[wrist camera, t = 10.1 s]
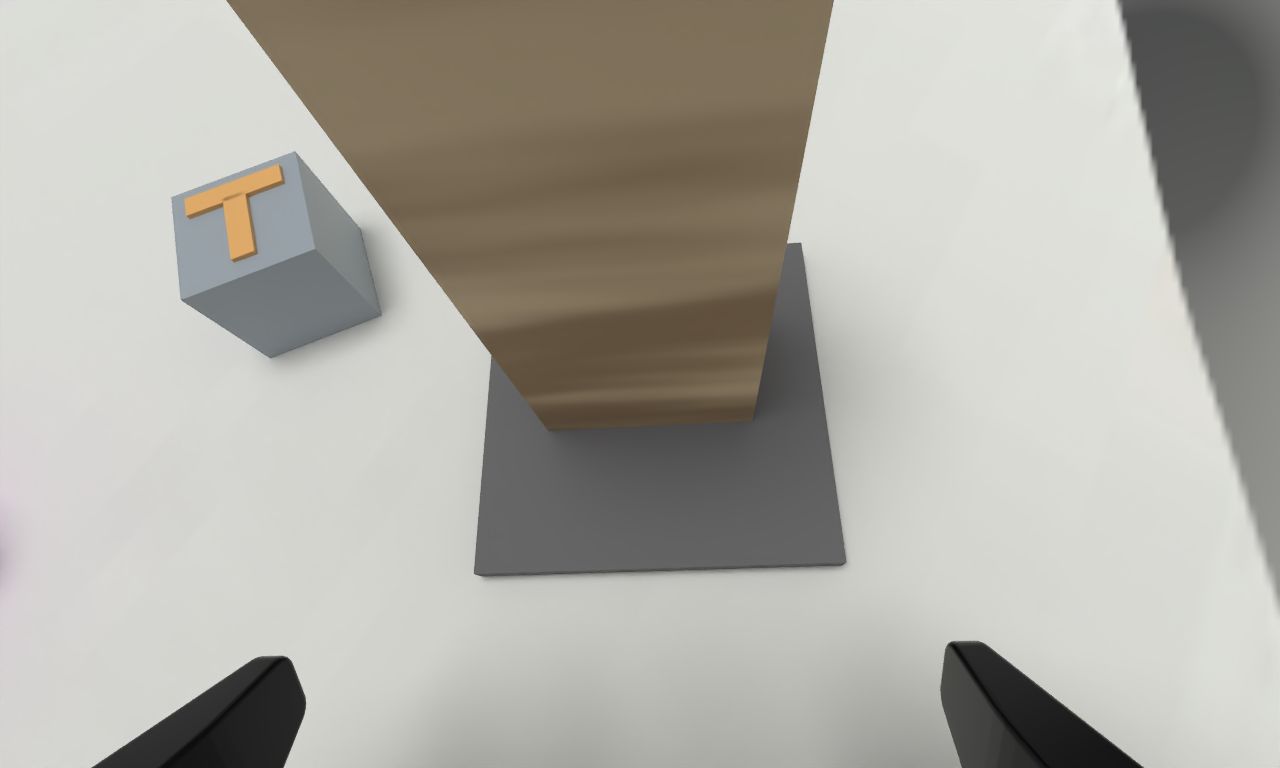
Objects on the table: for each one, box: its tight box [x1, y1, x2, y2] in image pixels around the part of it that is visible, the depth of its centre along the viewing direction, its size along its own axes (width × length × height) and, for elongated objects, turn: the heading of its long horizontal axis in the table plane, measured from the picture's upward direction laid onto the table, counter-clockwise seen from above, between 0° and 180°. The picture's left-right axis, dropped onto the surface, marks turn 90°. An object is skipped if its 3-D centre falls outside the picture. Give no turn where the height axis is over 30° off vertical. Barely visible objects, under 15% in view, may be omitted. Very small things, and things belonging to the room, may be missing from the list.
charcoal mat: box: [474, 243, 846, 576], centre depth 19 cm, size 10×10×1 cm
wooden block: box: [227, 0, 834, 431], centre depth 13 cm, size 4×6×14 cm, turn 90°
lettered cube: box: [171, 152, 381, 358], centre depth 20 cm, size 4×4×4 cm
